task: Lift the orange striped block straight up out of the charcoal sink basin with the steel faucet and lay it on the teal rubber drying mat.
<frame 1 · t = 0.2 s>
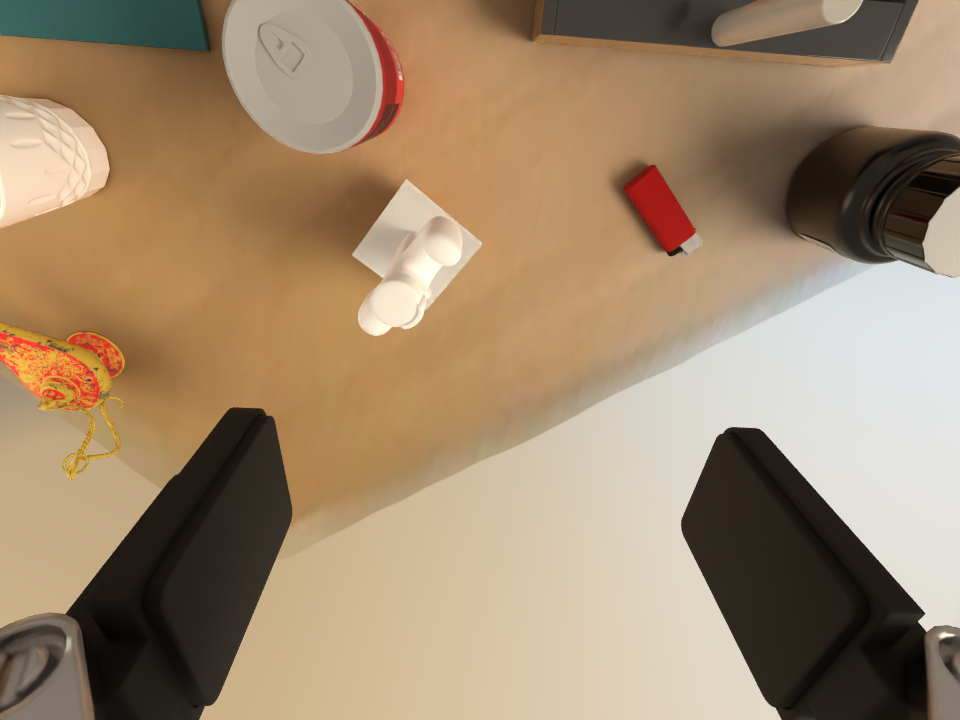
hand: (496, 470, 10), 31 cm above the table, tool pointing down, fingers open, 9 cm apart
magic lamp: (80, 341, 42), on the table
lighter: (660, 214, 38), on the table
canned food: (351, 79, 32), on the table
white cup: (64, 149, 34), on the table
ink bottle: (836, 186, 37), on the table
figurine: (421, 236, 38), on the table
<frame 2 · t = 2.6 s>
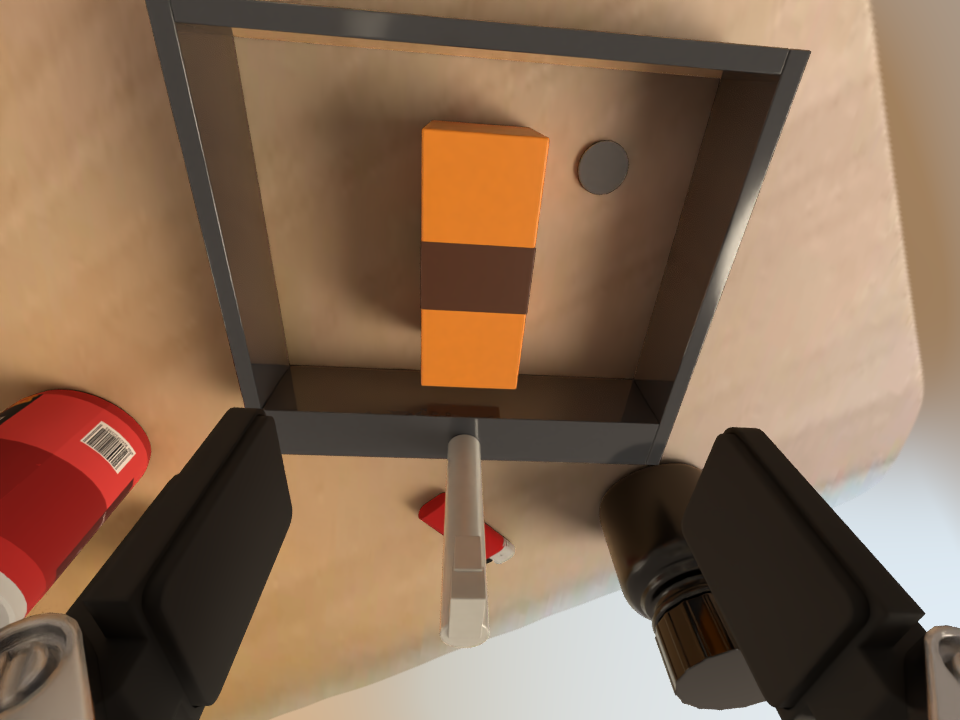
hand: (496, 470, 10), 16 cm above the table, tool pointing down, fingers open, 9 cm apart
sink basin: (473, 242, 23), on the table
lighter: (468, 523, 35), on the table
canned food: (92, 432, 29), on the table
ink bottle: (654, 500, 34), on the table
orange striped block: (474, 259, 21), in the sink basin
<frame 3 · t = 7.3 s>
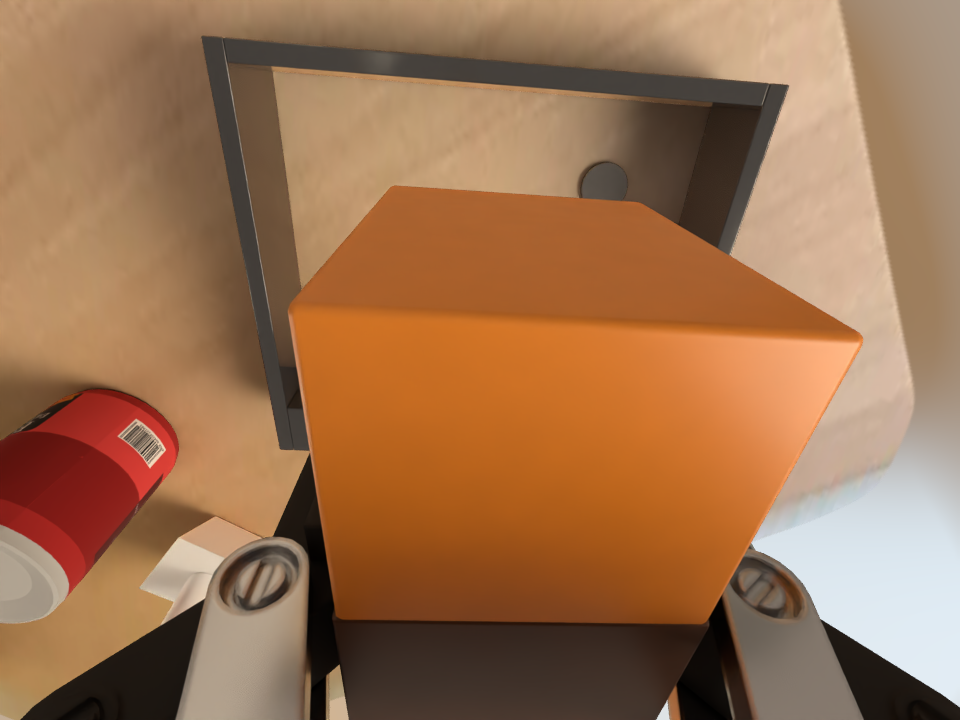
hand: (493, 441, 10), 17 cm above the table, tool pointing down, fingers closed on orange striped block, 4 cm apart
sink basin: (484, 254, 25), on the table
canned food: (124, 430, 31), on the table
orange striped block: (500, 523, 9), point 19 cm above the table, touching gripper
figurine: (230, 540, 37), on the table
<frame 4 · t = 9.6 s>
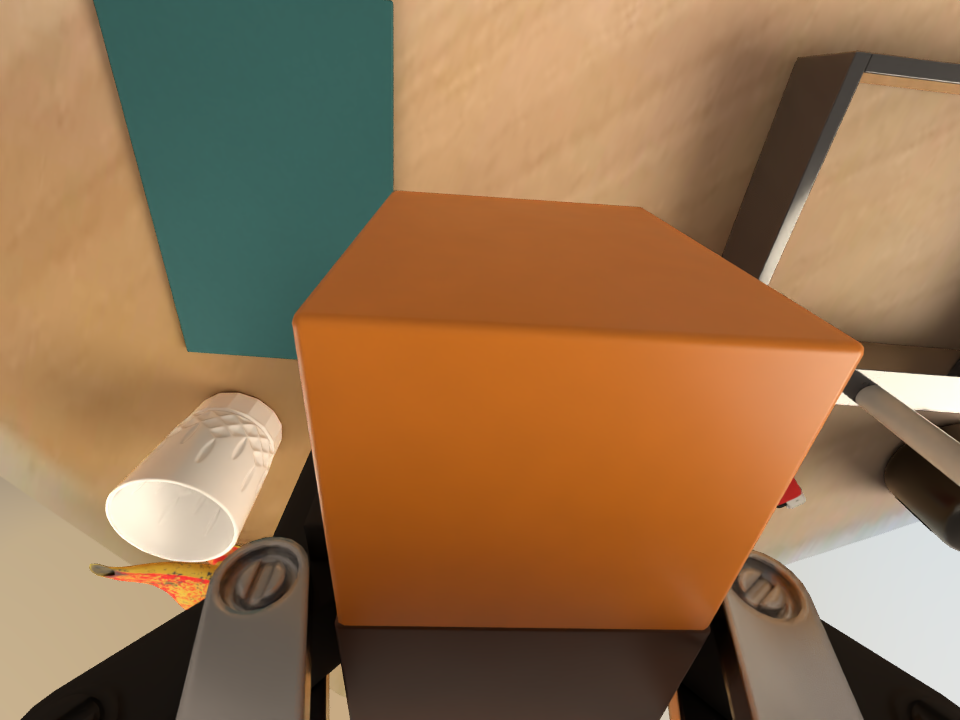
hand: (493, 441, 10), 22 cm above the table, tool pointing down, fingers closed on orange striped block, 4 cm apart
magic lamp: (221, 549, 46), on the table
sink basin: (897, 234, 30), on the table
lighter: (770, 472, 41), on the table
white cup: (242, 422, 37), on the table
drying mat: (274, 206, 28), on the table
ink bottle: (930, 457, 41), on the table
orange striped block: (501, 527, 9), point 24 cm above the table, touching gripper
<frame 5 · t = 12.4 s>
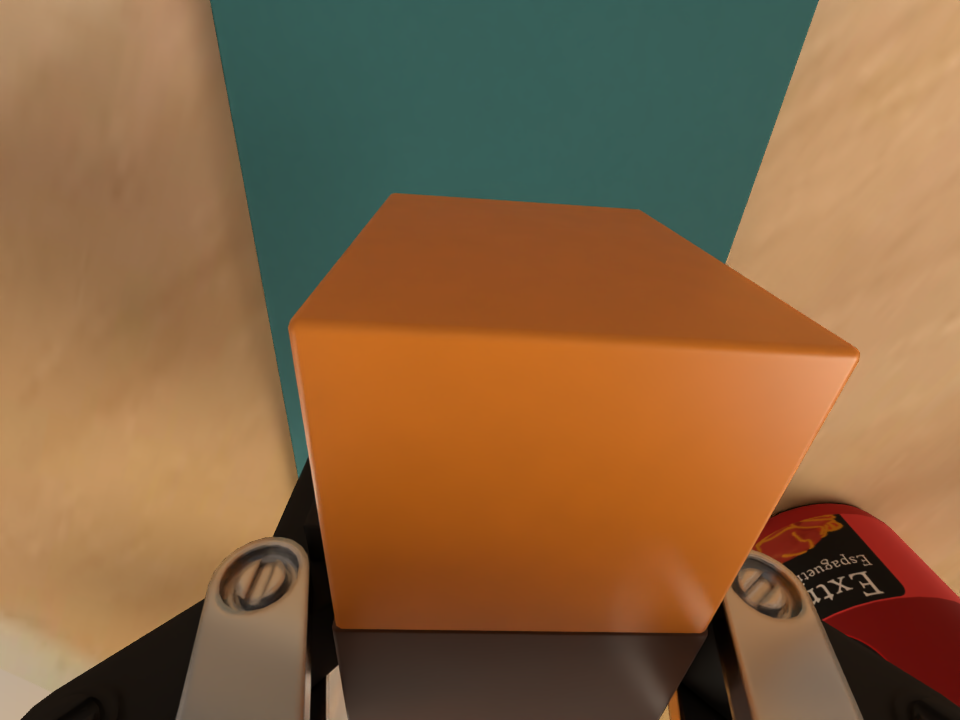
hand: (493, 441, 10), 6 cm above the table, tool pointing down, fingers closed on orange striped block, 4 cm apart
canned food: (799, 548, 23), on the table
white cup: (373, 607, 25), on the table
drying mat: (488, 320, 16), on the table
orange striped block: (499, 529, 9), point 9 cm above the table, touching gripper
when the fingers open (1 cm above the table, at t = 14.3 s): orange striped block stays where it is, resting on drying mat.
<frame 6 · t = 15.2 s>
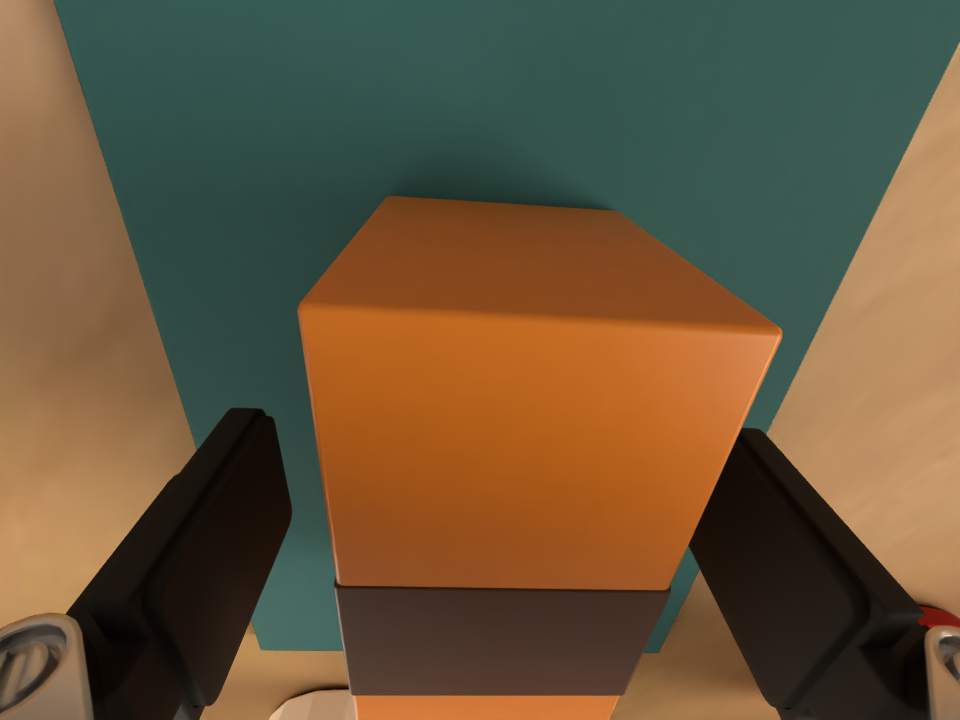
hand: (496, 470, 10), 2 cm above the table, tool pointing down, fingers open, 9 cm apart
canned food: (865, 650, 19), on the table
white cup: (348, 718, 21), on the table
drying mat: (486, 406, 12), on the table
orange striped block: (488, 508, 9), on the drying mat
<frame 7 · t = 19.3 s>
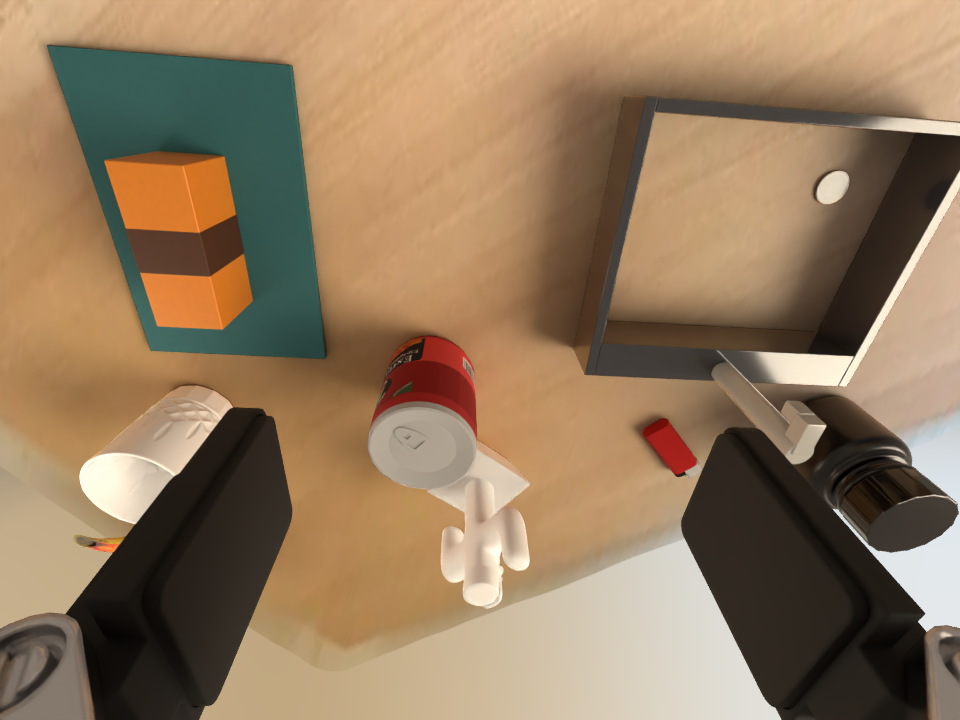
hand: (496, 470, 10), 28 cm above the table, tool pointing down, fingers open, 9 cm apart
magic lamp: (194, 528, 51), on the table
sink basin: (736, 235, 36), on the table
lighter: (670, 445, 47), on the table
canned food: (432, 369, 42), on the table
white cup: (203, 412, 43), on the table
drying mat: (213, 227, 35), on the table
ink bottle: (810, 428, 46), on the table
orange striped block: (190, 242, 32), on the drying mat
figurine: (478, 460, 47), on the table
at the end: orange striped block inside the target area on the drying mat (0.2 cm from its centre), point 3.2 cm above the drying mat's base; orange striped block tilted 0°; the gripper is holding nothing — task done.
